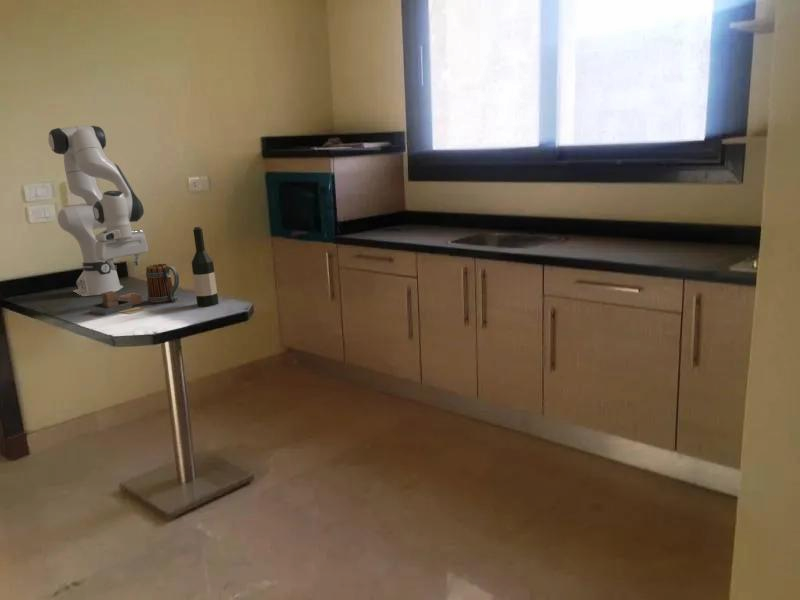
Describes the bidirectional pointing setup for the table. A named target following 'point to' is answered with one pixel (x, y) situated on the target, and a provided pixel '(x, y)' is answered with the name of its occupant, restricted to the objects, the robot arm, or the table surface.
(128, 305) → the tin
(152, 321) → the table surface
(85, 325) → the table surface
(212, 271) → the wine bottle
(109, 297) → the walnut block
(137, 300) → the terracotta pot
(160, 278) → the mug
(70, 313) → the table surface
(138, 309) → the light wooden board
